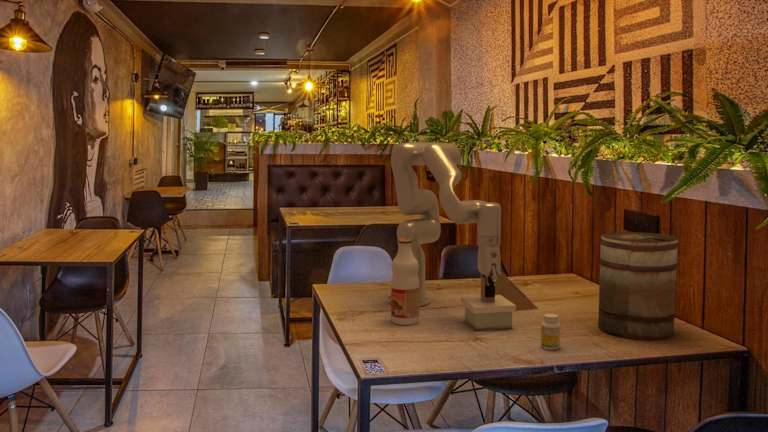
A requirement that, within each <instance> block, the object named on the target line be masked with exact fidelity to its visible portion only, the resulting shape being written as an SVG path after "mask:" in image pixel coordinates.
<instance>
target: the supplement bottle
mask: <svg viewBox="0 0 768 432" xmlns="http://www.w3.org/2000/svg"><path fill="white" fill-rule="evenodd" d="M540 329H541V334H540V335H541V337H540V346H541V348H542V349H544V350H549V351H554V350H559V349H560V345H561V324H560V322H559V315H557V314H555V313H545V314H544V315H543V321H542V322H541V328H540Z"/></svg>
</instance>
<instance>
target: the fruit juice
mask: <svg viewBox="0 0 768 432" xmlns="http://www.w3.org/2000/svg"><path fill="white" fill-rule="evenodd" d="M411 245H412V239H398V238H397V246H398V248H397V253H396V255H395V257H394V258H393V260H392V261H391V271H392V277H391V279H390V293H391V298H390V310H391V311H390V313H391V314H390V316H391V317H390V320H391V323H393V324H395V325H398V326H411V325H416V324H418V323H419V320H420V306H419V279H418V276H417V272H418V268H419V265H418V261H417V260H416V258H415V257H414V255H413V253H412V249H411Z"/></svg>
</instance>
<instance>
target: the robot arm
mask: <svg viewBox="0 0 768 432" xmlns="http://www.w3.org/2000/svg"><path fill="white" fill-rule="evenodd" d="M460 161H461V152H460V150H459V148H458V147H457V145H455V144H453V143H452V142H451V143H450V142H434V141H433V142H432V141H431V142H430V141H406V142H402V143H399V144H397V145H396V146H395V147H394V148H393V150H392V152H391V154H390V166H391V170H392V173H393V176H394V181H395V182H394V184H395V185H394V186H395V192H396V201H397V208H398V211H399V213H400V214H401V215H402V216H406V217H407V216H411V217H412V216H419V218H412V219H405V220H403V221H401V222H400V223H399V224H398V226H397V229H396V237H397V240H398V239H412V245H411V249H412V253H413V255H414V257H415V258H416V260H417V261H418V265H419V268H418V272H417V276H418V279H419V307H424V306H427V305H429V304H430V299H428V298H427V297H426V255H425V252H424V249H423V247H422V246H421V245H424V244H429V243H435V242H436V241H438V240H439V238H440V237H441V230H442V229H441V219H440V217H441V216H440V210H439V208H440V207H439V204H440V206H441V208H442V209H443V211H444V213H445V214H446V216H447V217H448V218H449V220H451V222H453V223H454V224H456V225H464V224H465V225H466V224H475V223H476V225H477V226H476V227H477V228H476V231H477V232H476V245H477V246H478V250H477V271H478V272H479V273H480V277H481V276H486V285H485V297H486V298H490V297H495V285H496V280H497V276H500V275H501V271H502V268H501V266H502V264H501V262H502V261H501V249H500V246H501V235H502V234H501V229H502V228H501V227H502V207H501V204H500V203H498V202H493V201H492V202H490V201H489V202H488V201H485V200H480V199H475V200H474V199H473V200H471V199H470V200H460V199H459V198H458V197H457V195H456V193H455V191H454V189H453V188H454V187H456V185H458V184H459V182H461V180H462V172H461V171H460V169H459V168H458V164H459V163H460ZM412 166H426V167H427V168H428V170H429V172H430V173H431V174H432V176H433V178H434V179H435V180H436V182H437V184H438V186H439V189H438V195H439V196H438V198H439V202H438V199H437V196H436V194H435V192H433V191H432V190H430V189H425V188H424V189H423V188H422V189H420V187H419V179H418V175H417V173H416V172H415V170H414V169H413V168H412ZM491 274H492V276H491ZM489 278H491V279H489ZM386 298H387V299H388V300H389V299H391V292H388V293H387V294H386Z"/></svg>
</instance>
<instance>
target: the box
mask: <svg viewBox="0 0 768 432" xmlns="http://www.w3.org/2000/svg"><path fill="white" fill-rule="evenodd" d="M464 322H466V323H467V325H469V326H470V327H471V328H472V329H474V330H475V332H480V331H481V332H482V331H498V330H511V329H513V312H495V313H476V314H474V313H473V312H471V311H470V310H469V309H468V308H467V307H465V306H464Z"/></svg>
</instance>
